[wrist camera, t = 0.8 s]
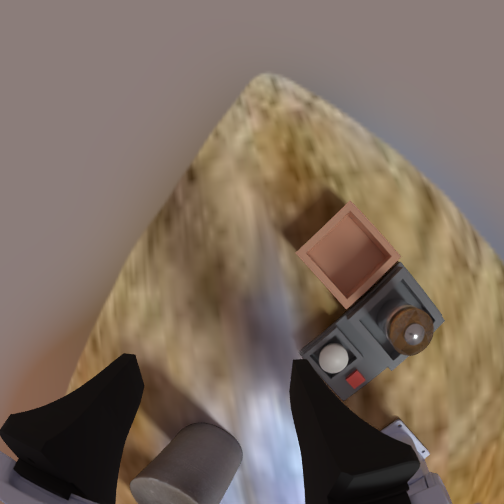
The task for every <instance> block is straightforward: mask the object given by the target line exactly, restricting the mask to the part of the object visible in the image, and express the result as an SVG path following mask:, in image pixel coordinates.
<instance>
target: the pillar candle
mask: <svg viewBox="0 0 504 504" xmlns="http://www.w3.org/2000/svg"><path fill="white" fill-rule="evenodd" d="M242 457H243V453H242V449H241V447H240V445H239V443H238V441H237V440H236V439H235V438H234V437H233V436H231V435H230V434H228V433H227V432H225V431H223V430H222V429H220V428H218V427H216V426H214V425H211V424H207V423H194V424H191V425H189V426H187V427H186V428H184V429H182V430H181V431H180V432H179V433H178V435H177V436H176V437H175V438H174V439H173V440H172V441H171V442H170V443H169V444H168V445H167V446H166V447H165V448H164V449H163V450H162V452H161V453H160V454H159V455H158V456H157V457H156V458H155V459H154V460H153V461H152V462H151V463H150V464H149V465H148V466H147V467H146V468H145V469H143V470H142V471H141V472H140V473H139V474H138V475H137V476H136V477H135V478H134V479H133V480H132V481H131V483H130V490H131V493H132V495H133V497H134V498H135V500H136V502H137V503H138V504H219V503H220V501H221V500H222V498H223V496H224V494H225V492H226V490H227V488H228V487H229V485H230V483H231V481H232V479H233V477H234V475H235V473H236V471H237V469H238V467H239V466H240V464H241V461H242Z"/></svg>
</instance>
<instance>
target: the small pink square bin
mask: <svg viewBox="0 0 504 504" xmlns="http://www.w3.org/2000/svg"><path fill="white" fill-rule="evenodd" d="M296 254H297V255H298V256H299V257H300V258H301V259H302V261H303V262H304V263H305V264H306V265H307V266H308V267H309V268H310V269H311V270H312V272H313V273H314V274H315V275H316V276H317V277H318V278H319V279H320V280H321V282H322V283H323V284H324V285H325V286H326V287H327V288H328V289H329V291H330V292H331V293H332V294H333V295H334V296H335V297H336V298H337V300H338V301H339V302H340V303H341V304H342V305H343V306H344V307H345V309H348V308H349V307H350V306H351V305H352V304H353V303H354V302H355V301H356V300H357V299H359V298H360V297H361V296H362V295H363V294H364V293H365V292H366V291H367V290H368V289H369V288H370V287H371V286H372V285H373V284H374V283H375V282H376V281H377V280H379V279H380V278H381V277H382V276H383V275H384V274H385V273H386V272H387V271H388V270H389V269H390V268H391V267H392V266H393V265H394V264H395V263H396V262H397V260H398V259H399V258H400V257H401V256H400V255H399V253H398V252H397V251H396V250H395V249H394V248H393V246H392V245H391V244H390V243H389V242H388V241H387V240H386V238H385V237H384V236H383V235H382V234H381V233H380V232H379V231H378V230H377V228H376V227H375V226H374V225H373V224H372V223H371V222H370V221H369V220H368V219H367V218H366V216H365V215H364V214H363V213H362V212H361V211H360V210H359V209H358V208H357V207H356V206H355V205H354V204H353V203H352V202H351V201H349V202H348V203H347V204H346V205H345V206H344V207H343V208H342V209H341V210H340V211H339V212H338V213H337V214H336V215H335V216H334V217H332V218H331V219H330V220H329V221H328V222H327V223H326V224H325V225H324V226H323V227H322V228H321V229H320V230H319V231H318V232H317V233H316V234H315V235H314V236H313V237H312V238H311V239H310V240H308V241H307V242H306V243H305V244H304V245H303V246H302V247H301V248H300V249H299V250H298V251H297V252H296Z"/></svg>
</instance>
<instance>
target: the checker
mask: <svg viewBox="0 0 504 504" xmlns="http://www.w3.org/2000/svg"><path fill="white" fill-rule="evenodd" d="M391 299H401V300H403V301H405V302H407V303H409V304H411V305H413V306H415V307H417V308H418V309H420V310H422V311H424V312H426V313H427V314H428V315H429V316H430V318H431V319H432V322H433V326H434V331H435V330H436V329H437V328H438V327H439V326H440V325H441V324H442V323H443V322H444V321H445V320H444V319H443V317H442V314H441V313H440V312H439V310H438V309H437V308H436V306H435V305H434V303H433V302H432V301H431V300H430V298H429V297H428V296H427V294H426V293H425V292H424V290H423V289H422V288H421V287H420V285H419V284H418V283H417V281H416V280H415V279H414V278H413V276H412V275H411V274H410V273H409V272H408V270H407V269H406V268H405V267H404V265H403V264H402V263H401V262H398V263H397V264H396V265H395V266H394V267H393V268H392V269H391V270H390V271H389V272H388V273H387V274H386V275H385V276H384V277H383V278H382V279H381V280H380V281H379V282H378V283H377V284H376V285H375V286H374V287H373V288H371V289H370V290H369V291H368V292H367V293H366V294H365V295H364V296H363V297H362V298H361V299H360V300H359V301H358V302H357V303H355V304H354V305H353V306H352V307H351V308H350V309H349V310H348V311H347V312H345V313H344V314H343V315H342V316H341V317H340V318H339V319H338V320H336V321H335V322H334V323H333V324H332V325H331V326H329V327H328V328H327V329H326V330H325V331H324V332H322V333H321V334H320V335H319V336H318V337H316V338H315V339H314V340H313V341H311V342H310V343H309V344H308V345H307V346H305V347H304V348H303V349H302V350H300V352H299V354H300V355H301V356H302V357H303V358H304V359H307V360H308V361H309V362H310V364H311V365H312V367H313V368H314V370H315V371H316V372H317V373H318V375H319V376H320V377H321V378H322V379H323V380H324V381H325V382H326V383H327V384H328V385H329V386H330V387H331V388H332V390H333V391H334V392H335V393H336V394H337V395H338V396H339V397H340V398H341V399H342V400H343V401H344V400H346V399H347V398H348V397H350V396H351V395H353V394H354V393H355V392H357V391H358V390H359V389H361V388H362V387H363V386H364V385H366V384H367V383H368V382H370V381H371V380H372V379H373V378H375V377H376V376H377V375H378V374H380V373H381V372H382V371H383V370H384V369H386V368H387V367H389V369H390V370H391V371H392V370H393V369H394V368H396V367H397V366H398V365H399V364H400V363H401V362H403V361H404V360H405V359H406V358H407V357H408V356H406V355H402V354H400V353H399V352H397V351H396V350H395V348H394V347H393V346H392V344H391V343H390V342H389V340H388V339H387V338H386V336H385V335H384V334H383V332H382V331H381V330H380V328H379V326H378V323H377V315H378V312H379V310H380V308H381V306H382V305H383V304H384V303H385V302H387V301H389V300H391ZM330 343H339V344H341V345H343V346H344V347H345V348H346V350H347V353H348V363H347V365H346V367H345V368H344V369H343V370H342V371H340V372H337V373H328V372H326V371H324V370H323V369H322V368H321V366H320V364H319V356H320V352H321V350H322V348H323V347H324V346H326V345H327V344H330Z"/></svg>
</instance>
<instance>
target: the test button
mask: <svg viewBox="0 0 504 504" xmlns="http://www.w3.org/2000/svg"><path fill="white" fill-rule="evenodd" d="M347 363H348V353H347V350H346V348H345V347H344V346H343V345H341V344H339V343H330V344H327V345H326V346H324V347H323V348H322V350H321V352H320V356H319V364H320V366H321V368H322V369H323V370H324V371H326V372H328V373H337V372H340V371H342V370H343V369H344V368H345V367H346V365H347Z"/></svg>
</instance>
